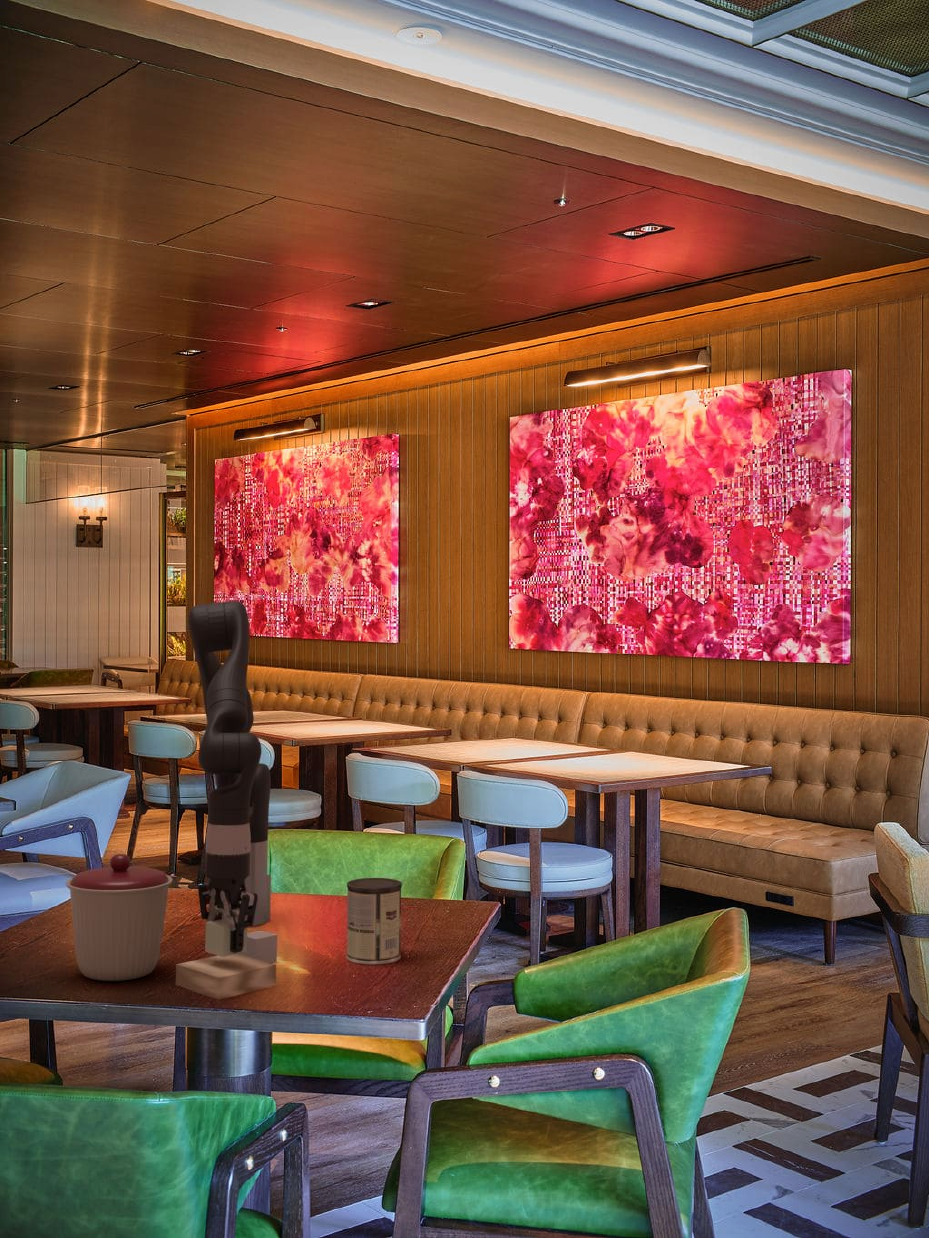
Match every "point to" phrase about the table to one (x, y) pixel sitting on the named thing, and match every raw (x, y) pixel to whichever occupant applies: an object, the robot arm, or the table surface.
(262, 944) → the grey block
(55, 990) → the table surface
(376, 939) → the coffee can
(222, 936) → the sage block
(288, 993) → the table surface
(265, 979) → the birch block
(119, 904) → the canister
